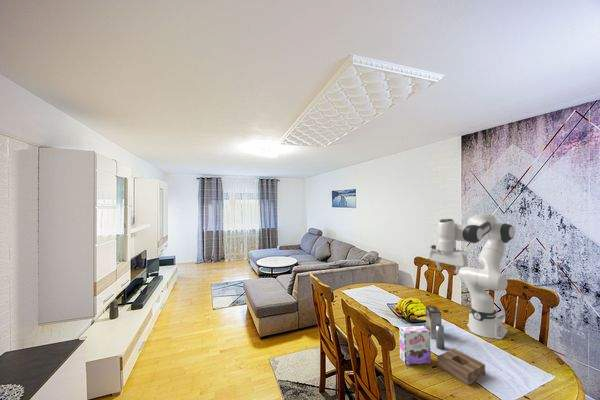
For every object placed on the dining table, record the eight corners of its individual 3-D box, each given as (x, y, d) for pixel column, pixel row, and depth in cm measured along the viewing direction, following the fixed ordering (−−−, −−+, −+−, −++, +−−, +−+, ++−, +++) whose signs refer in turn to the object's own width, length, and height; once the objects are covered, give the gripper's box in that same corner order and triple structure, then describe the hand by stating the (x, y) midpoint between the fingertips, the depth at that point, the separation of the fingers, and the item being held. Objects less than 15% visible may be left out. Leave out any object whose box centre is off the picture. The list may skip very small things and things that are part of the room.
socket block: (454, 358, 122) (454, 348, 122) (485, 375, 110) (485, 364, 110) (437, 366, 116) (437, 356, 116) (467, 385, 104) (467, 374, 104)
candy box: (405, 365, 117) (404, 332, 118) (399, 358, 123) (398, 326, 124) (431, 363, 118) (430, 330, 119) (424, 356, 124) (423, 325, 125)
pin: (439, 345, 134) (438, 323, 134) (446, 348, 130) (445, 326, 131) (434, 346, 132) (434, 325, 132) (441, 350, 129) (440, 328, 129)
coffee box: (425, 330, 149) (425, 305, 150) (436, 331, 148) (436, 306, 148) (431, 338, 140) (430, 311, 141) (442, 339, 139) (441, 312, 139)
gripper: (469, 249, 126) (470, 275, 126) (433, 244, 145) (434, 267, 144) (462, 250, 123) (463, 277, 123) (427, 245, 142) (427, 268, 141)
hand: (447, 271), depth 134 cm, fingers open, 8 cm apart
